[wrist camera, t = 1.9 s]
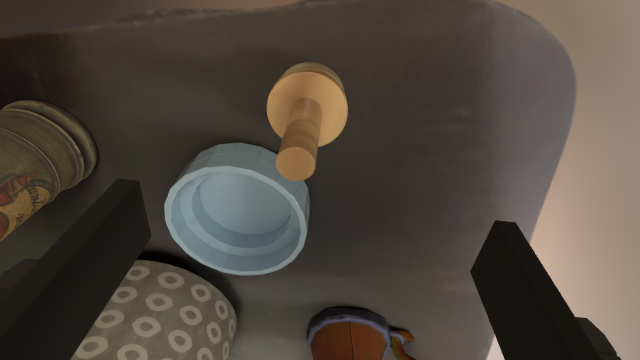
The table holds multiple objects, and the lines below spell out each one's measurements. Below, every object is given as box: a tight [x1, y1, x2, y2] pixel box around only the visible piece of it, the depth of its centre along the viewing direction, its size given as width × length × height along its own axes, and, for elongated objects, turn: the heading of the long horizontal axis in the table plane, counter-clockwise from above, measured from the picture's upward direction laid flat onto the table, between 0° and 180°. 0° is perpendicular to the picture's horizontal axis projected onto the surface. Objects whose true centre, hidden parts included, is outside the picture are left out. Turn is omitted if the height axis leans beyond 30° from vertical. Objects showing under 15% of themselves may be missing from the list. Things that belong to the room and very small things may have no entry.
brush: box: [267, 62, 348, 181], centre depth 26 cm, size 6×6×12 cm
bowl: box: [164, 143, 311, 275], centre depth 35 cm, size 13×13×5 cm
